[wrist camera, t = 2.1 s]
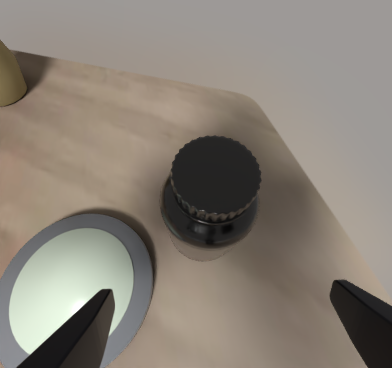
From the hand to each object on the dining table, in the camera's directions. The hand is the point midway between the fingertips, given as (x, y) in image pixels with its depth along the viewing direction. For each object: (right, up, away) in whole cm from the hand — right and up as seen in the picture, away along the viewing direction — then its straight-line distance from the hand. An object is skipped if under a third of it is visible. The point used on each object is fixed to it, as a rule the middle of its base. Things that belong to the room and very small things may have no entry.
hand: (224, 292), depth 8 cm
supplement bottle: (-1, 0, +13) cm, 13 cm away
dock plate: (-12, -5, +10) cm, 16 cm away
